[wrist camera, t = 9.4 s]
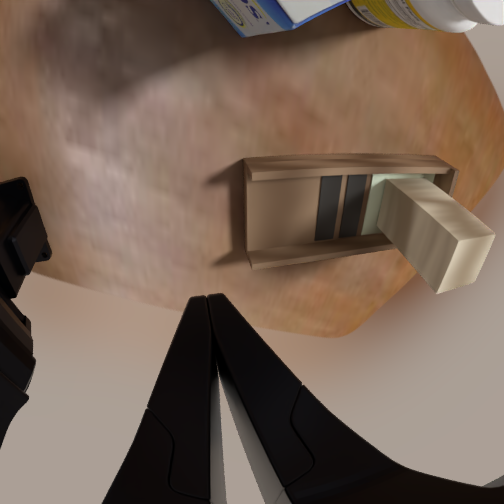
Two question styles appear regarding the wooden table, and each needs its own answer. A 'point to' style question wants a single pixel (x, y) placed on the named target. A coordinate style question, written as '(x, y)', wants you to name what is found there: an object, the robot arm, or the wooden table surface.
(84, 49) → the wooden table surface
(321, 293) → the wooden table surface
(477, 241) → the cream block
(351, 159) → the box
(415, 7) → the supplement bottle
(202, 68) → the wooden table surface
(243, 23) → the medicine box
